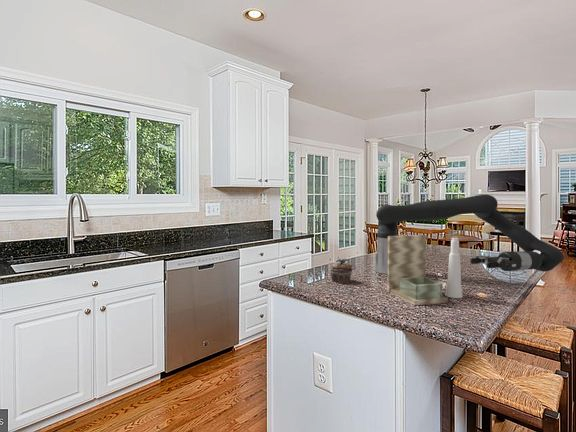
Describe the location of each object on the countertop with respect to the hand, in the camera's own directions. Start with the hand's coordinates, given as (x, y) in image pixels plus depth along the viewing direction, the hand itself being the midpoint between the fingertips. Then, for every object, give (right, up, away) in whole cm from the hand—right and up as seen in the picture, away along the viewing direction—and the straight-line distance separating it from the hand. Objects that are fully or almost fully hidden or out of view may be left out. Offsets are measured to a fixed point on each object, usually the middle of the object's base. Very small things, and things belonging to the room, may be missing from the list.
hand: (479, 263), depth 137 cm
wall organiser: (-24, -12, -2) cm, 27 cm away
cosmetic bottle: (-10, -12, -2) cm, 16 cm away
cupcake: (-49, -11, +23) cm, 55 cm away
